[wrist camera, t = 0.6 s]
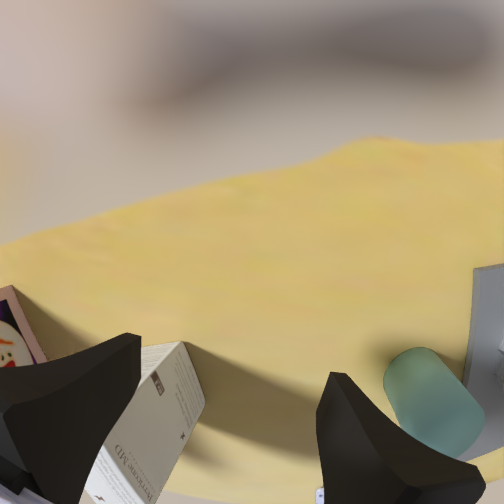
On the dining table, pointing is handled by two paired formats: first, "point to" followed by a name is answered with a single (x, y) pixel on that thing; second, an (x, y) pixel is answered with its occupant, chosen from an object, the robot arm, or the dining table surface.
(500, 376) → the grey segmented ring
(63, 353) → the dining table surface
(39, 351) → the greeting card
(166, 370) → the skincare box
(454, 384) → the plug
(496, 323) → the board
